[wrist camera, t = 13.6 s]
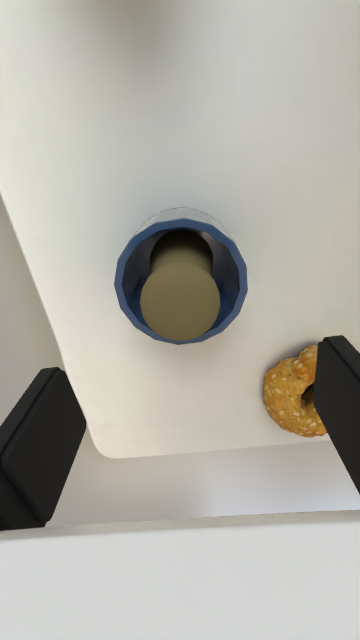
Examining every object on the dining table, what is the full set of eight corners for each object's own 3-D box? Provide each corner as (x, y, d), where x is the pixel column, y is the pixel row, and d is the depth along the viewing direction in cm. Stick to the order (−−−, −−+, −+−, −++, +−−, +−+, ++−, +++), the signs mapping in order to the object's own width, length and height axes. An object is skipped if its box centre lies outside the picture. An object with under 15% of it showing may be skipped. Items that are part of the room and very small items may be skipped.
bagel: (367, 354, 32) (395, 382, 28) (315, 421, 37) (332, 454, 33) (288, 328, 31) (304, 353, 27) (244, 401, 36) (252, 433, 31)
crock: (119, 217, 26) (99, 231, 20) (229, 199, 25) (243, 208, 19) (142, 314, 30) (131, 350, 24) (236, 301, 30) (250, 336, 23)
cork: (149, 291, 28) (130, 353, 19) (149, 227, 26) (128, 261, 16) (210, 294, 29) (223, 358, 19) (217, 231, 26) (236, 267, 16)
